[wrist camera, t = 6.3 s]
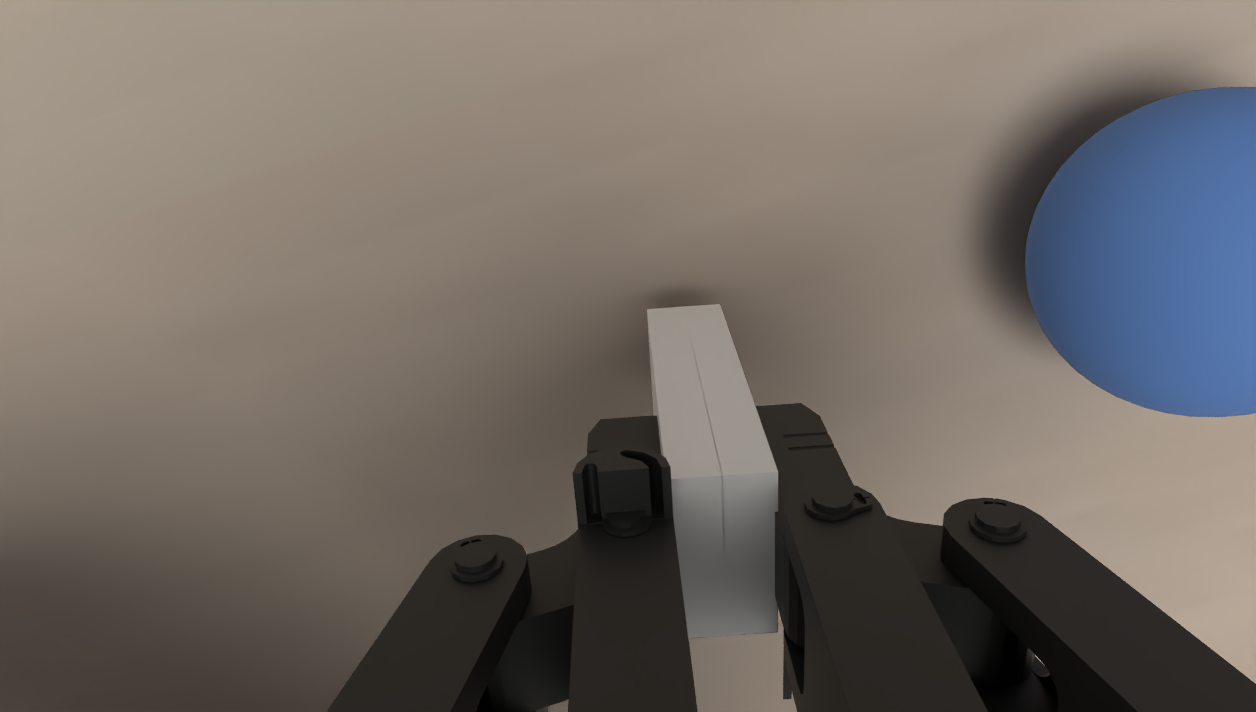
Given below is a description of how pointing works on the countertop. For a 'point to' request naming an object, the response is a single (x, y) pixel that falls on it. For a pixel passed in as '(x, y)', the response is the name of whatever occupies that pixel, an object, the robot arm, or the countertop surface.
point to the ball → (1156, 255)
